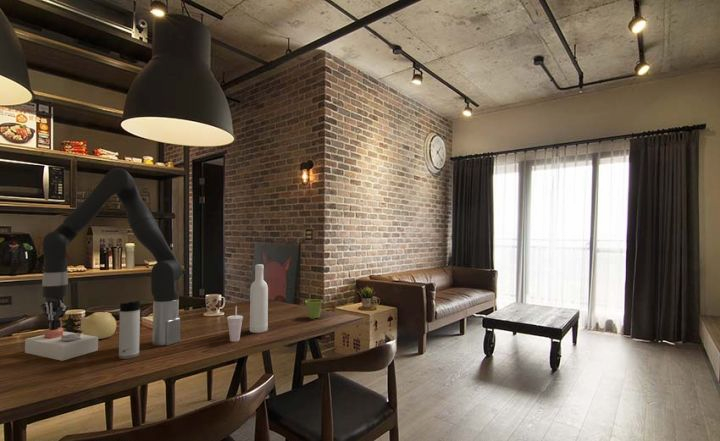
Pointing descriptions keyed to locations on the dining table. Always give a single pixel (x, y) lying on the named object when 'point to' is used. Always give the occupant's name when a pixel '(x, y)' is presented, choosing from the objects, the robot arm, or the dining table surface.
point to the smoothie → (234, 326)
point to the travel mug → (129, 330)
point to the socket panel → (61, 346)
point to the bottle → (259, 302)
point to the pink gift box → (53, 333)
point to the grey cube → (70, 337)
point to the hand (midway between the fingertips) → (53, 329)
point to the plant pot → (314, 308)
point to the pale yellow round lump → (99, 325)
